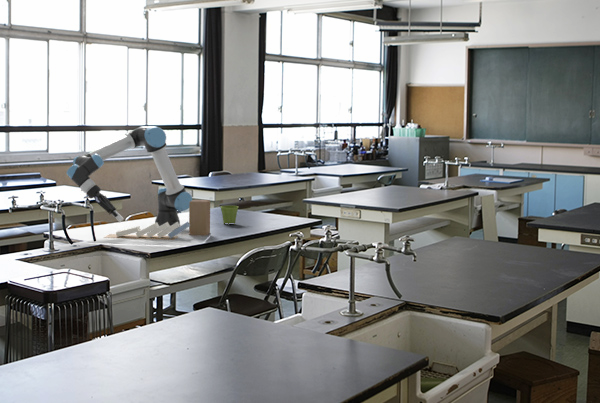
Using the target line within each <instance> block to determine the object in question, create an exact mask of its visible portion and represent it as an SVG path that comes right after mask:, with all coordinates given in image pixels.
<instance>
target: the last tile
mask: <svg viewBox="0 0 600 403" xmlns="http://www.w3.org/2000/svg"><path fill="white" fill-rule="evenodd" d="M189 226H190V224H189V221H187V222H185V223H183V224H181V225H180V226H179V227H178V228H176V229H174V230H173V231H171V232H169V233H168V234H167V236H169V237H170V239H171V238H172V237H174V236H178V234H180V233H181V232H183V231H184V230H186V229H187V228H188V229H189Z"/></svg>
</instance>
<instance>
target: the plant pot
mask: <svg viewBox="0 0 600 403" xmlns="http://www.w3.org/2000/svg"><path fill="white" fill-rule="evenodd" d="M219 207H220V211H221V215H222V223H223V224H224V223H228V224H229V223H235V224H236V220H237V216H238V214H237V213H238V209H239V206H237V205H221V206H219Z"/></svg>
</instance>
